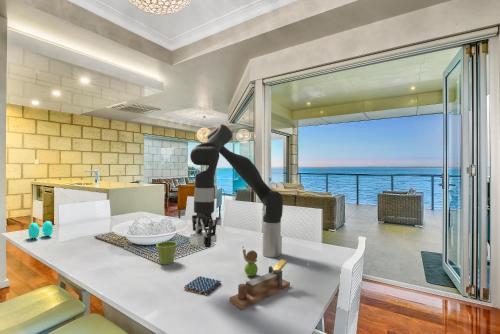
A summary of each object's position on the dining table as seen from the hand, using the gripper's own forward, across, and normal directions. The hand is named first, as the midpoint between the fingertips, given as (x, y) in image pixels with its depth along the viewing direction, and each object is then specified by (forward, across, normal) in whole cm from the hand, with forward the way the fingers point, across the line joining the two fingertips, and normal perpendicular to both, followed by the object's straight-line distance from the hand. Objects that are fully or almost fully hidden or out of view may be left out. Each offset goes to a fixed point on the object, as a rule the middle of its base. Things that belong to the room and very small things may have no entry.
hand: (203, 244), depth 93 cm
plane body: (+15, +18, +13) cm, 27 cm away
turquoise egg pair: (+16, -122, -42) cm, 130 cm away
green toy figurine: (+16, +4, +20) cm, 26 cm away
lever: (+9, +18, +20) cm, 28 cm away
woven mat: (+16, 0, 0) cm, 16 cm away
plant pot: (+16, -32, 0) cm, 36 cm away
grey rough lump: (-1, 0, 0) cm, 1 cm away
